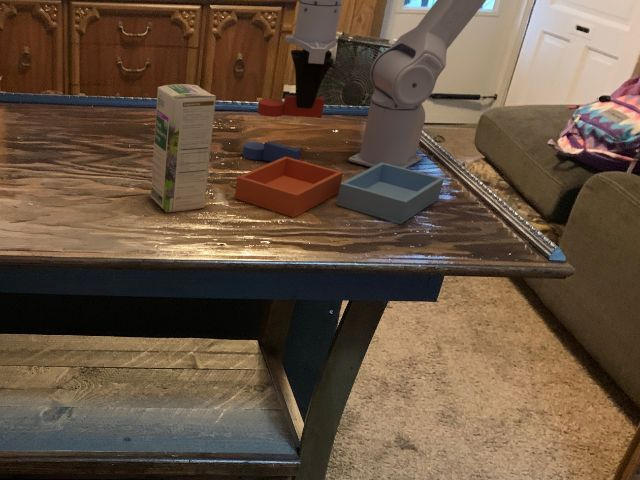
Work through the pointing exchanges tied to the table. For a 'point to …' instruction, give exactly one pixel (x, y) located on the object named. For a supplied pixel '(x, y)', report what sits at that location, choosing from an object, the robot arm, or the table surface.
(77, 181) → the table surface
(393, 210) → the blue bin
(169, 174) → the syrup box
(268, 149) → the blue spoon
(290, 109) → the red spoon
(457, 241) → the table surface
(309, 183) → the red bin
